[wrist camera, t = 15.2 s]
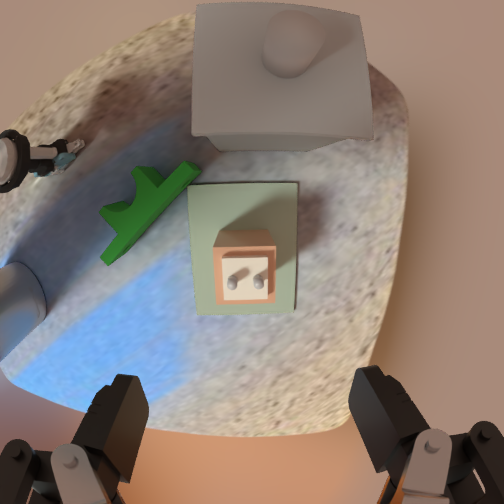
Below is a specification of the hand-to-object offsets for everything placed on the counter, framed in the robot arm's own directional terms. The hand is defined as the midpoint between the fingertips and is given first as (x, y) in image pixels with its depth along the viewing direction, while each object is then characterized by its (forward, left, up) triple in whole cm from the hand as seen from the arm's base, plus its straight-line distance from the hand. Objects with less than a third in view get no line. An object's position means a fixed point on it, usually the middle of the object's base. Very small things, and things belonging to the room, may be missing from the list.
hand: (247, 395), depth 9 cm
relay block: (0, 0, -18) cm, 18 cm away
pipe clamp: (-9, +6, -18) cm, 21 cm away
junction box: (+2, +13, -18) cm, 22 cm away
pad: (0, 0, -18) cm, 18 cm away
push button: (-19, +11, -18) cm, 28 cm away
